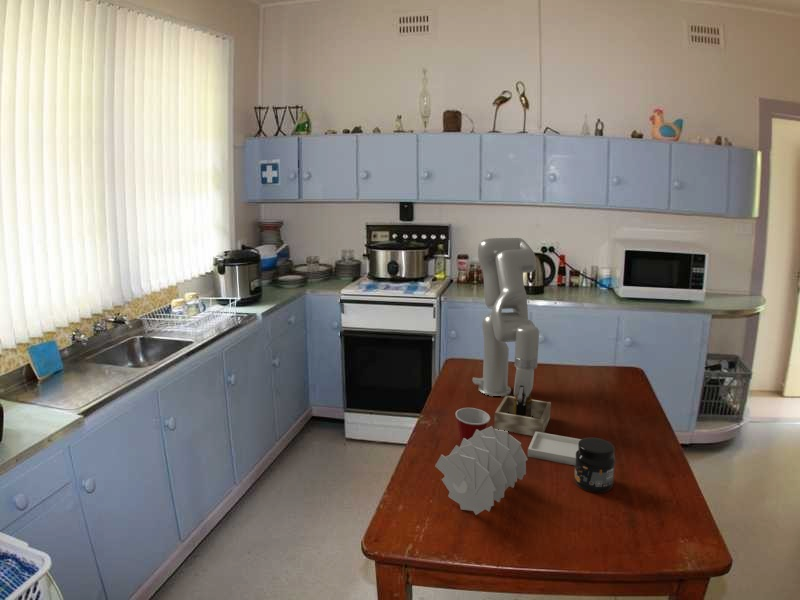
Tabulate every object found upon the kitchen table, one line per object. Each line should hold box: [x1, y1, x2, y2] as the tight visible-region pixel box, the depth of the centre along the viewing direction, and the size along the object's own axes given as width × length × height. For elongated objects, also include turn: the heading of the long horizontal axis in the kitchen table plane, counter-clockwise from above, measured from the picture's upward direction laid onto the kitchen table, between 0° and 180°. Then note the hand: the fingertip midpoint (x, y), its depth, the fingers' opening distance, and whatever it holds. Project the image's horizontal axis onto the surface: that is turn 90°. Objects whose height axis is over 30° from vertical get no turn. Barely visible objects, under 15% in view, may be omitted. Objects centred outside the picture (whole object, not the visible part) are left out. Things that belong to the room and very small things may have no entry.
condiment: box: [512, 391, 533, 417], centre depth 201 cm, size 7×8×12 cm
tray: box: [527, 432, 583, 467], centre depth 182 cm, size 18×13×2 cm
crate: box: [493, 395, 552, 437], centre depth 202 cm, size 16×16×6 cm
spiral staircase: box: [434, 425, 528, 516], centre depth 157 cm, size 18×18×25 cm
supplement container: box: [573, 437, 616, 494], centre depth 163 cm, size 10×10×12 cm
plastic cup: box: [455, 407, 491, 444], centre depth 183 cm, size 11×11×12 cm
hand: (523, 410), depth 201 cm, fingers open, 7 cm apart
